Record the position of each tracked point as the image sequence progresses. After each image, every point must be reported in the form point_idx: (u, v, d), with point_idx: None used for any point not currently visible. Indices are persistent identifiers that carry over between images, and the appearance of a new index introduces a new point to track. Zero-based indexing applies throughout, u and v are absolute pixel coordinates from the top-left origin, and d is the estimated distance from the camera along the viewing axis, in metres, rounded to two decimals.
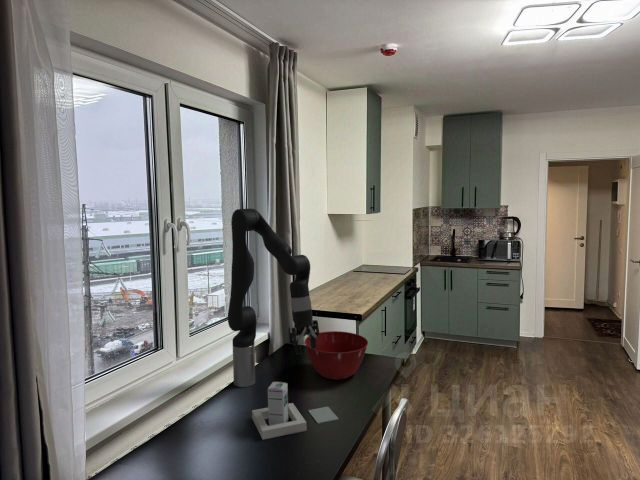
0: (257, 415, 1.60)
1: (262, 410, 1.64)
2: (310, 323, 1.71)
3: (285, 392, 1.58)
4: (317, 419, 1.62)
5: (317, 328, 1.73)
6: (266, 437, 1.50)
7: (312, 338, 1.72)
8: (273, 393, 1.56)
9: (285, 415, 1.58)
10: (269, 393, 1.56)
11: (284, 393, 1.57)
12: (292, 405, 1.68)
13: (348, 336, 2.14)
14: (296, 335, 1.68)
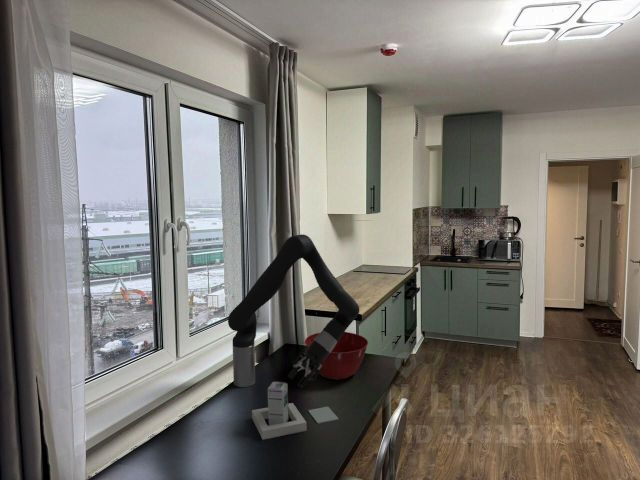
0: (257, 415, 1.60)
1: (262, 410, 1.64)
2: None
3: (285, 392, 1.58)
4: (317, 419, 1.62)
5: None
6: (266, 437, 1.50)
7: (296, 369, 1.66)
8: (273, 393, 1.56)
9: (285, 415, 1.58)
10: (269, 393, 1.56)
11: (284, 393, 1.57)
12: (292, 405, 1.68)
13: (348, 336, 2.14)
14: None
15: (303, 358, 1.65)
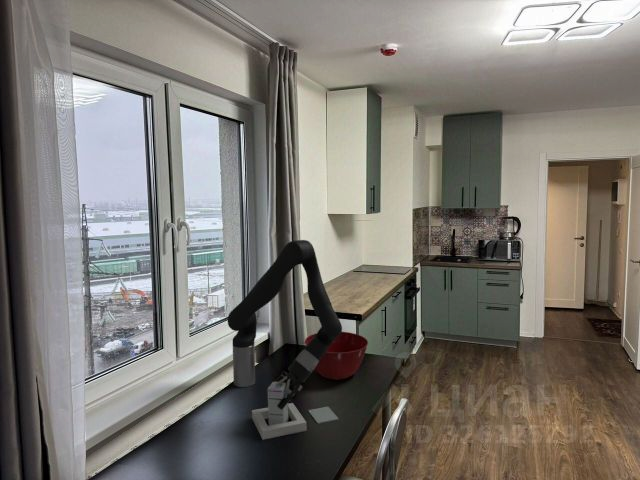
0: (257, 415, 1.60)
1: (262, 410, 1.64)
2: None
3: (285, 392, 1.58)
4: (317, 419, 1.62)
5: None
6: (266, 437, 1.50)
7: None
8: (273, 393, 1.56)
9: (285, 415, 1.58)
10: (269, 393, 1.56)
11: (284, 393, 1.57)
12: (292, 405, 1.68)
13: (348, 336, 2.14)
14: None
15: (284, 378, 1.61)
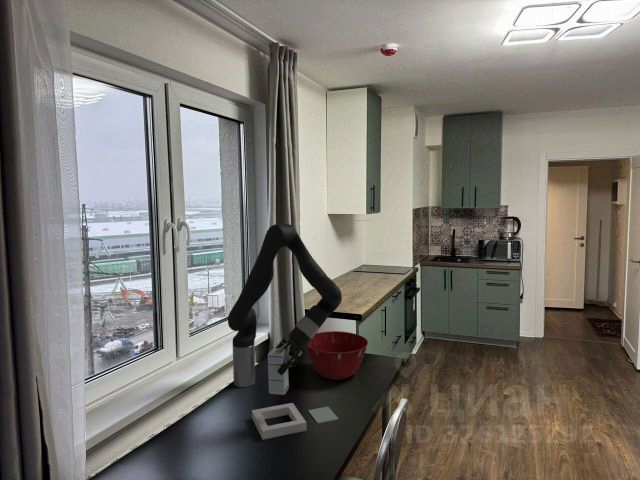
0: (257, 415, 1.60)
1: (262, 410, 1.64)
2: None
3: (285, 358, 1.57)
4: (317, 419, 1.62)
5: None
6: (266, 437, 1.50)
7: None
8: (273, 359, 1.55)
9: (285, 381, 1.57)
10: (269, 359, 1.55)
11: (284, 359, 1.56)
12: (292, 405, 1.68)
13: (348, 336, 2.14)
14: None
15: (284, 344, 1.60)
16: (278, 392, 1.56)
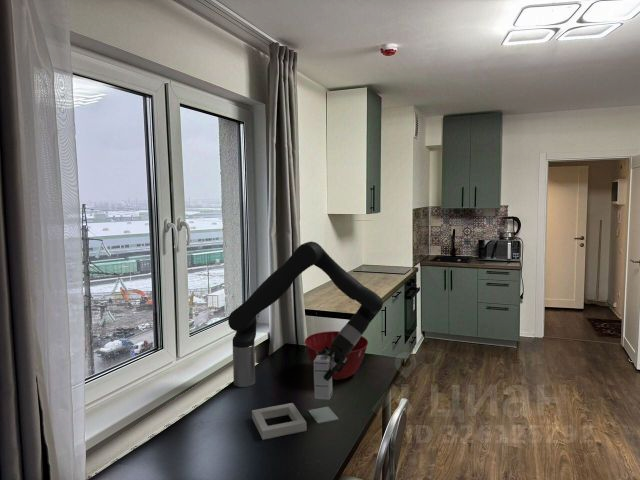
0: (257, 415, 1.60)
1: (262, 410, 1.64)
2: None
3: (330, 364, 1.63)
4: (317, 419, 1.62)
5: None
6: (266, 437, 1.50)
7: None
8: (319, 365, 1.61)
9: (330, 387, 1.63)
10: (315, 365, 1.62)
11: (329, 365, 1.62)
12: (292, 405, 1.68)
13: None
14: None
15: (328, 351, 1.67)
16: (323, 397, 1.62)
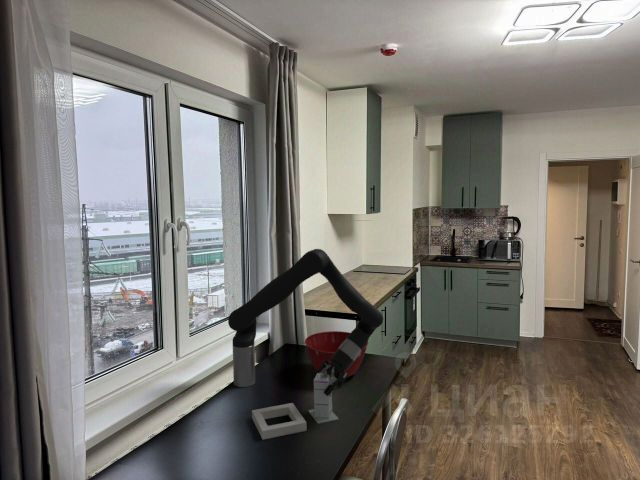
0: (257, 415, 1.60)
1: (262, 410, 1.64)
2: None
3: None
4: (317, 419, 1.62)
5: None
6: (266, 437, 1.50)
7: None
8: (319, 384, 1.62)
9: (330, 405, 1.64)
10: (315, 384, 1.63)
11: None
12: (292, 405, 1.68)
13: None
14: (333, 376, 1.63)
15: (328, 366, 1.67)
16: (323, 415, 1.63)
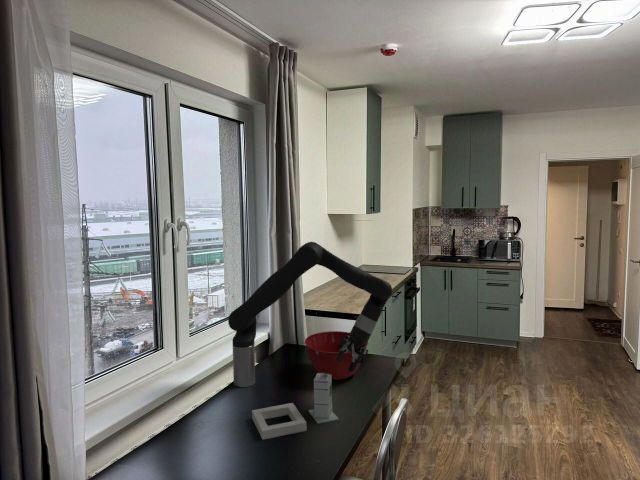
0: (257, 415, 1.60)
1: (262, 410, 1.64)
2: None
3: (330, 383, 1.64)
4: (317, 419, 1.62)
5: None
6: (266, 437, 1.50)
7: (343, 352, 1.76)
8: (319, 384, 1.62)
9: (330, 405, 1.64)
10: (315, 384, 1.63)
11: (329, 384, 1.63)
12: (292, 405, 1.68)
13: None
14: None
15: (347, 343, 1.73)
16: (323, 415, 1.63)
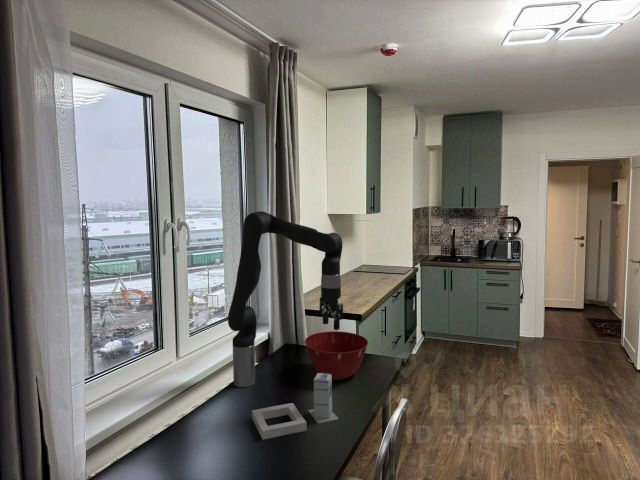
0: (257, 415, 1.60)
1: (262, 410, 1.64)
2: None
3: (330, 383, 1.64)
4: (317, 419, 1.62)
5: None
6: (266, 437, 1.50)
7: (325, 314, 1.77)
8: (319, 384, 1.62)
9: (330, 405, 1.64)
10: (315, 384, 1.63)
11: (329, 384, 1.63)
12: (292, 405, 1.68)
13: (348, 336, 2.14)
14: (332, 312, 1.70)
15: (324, 304, 1.74)
16: (323, 415, 1.63)
